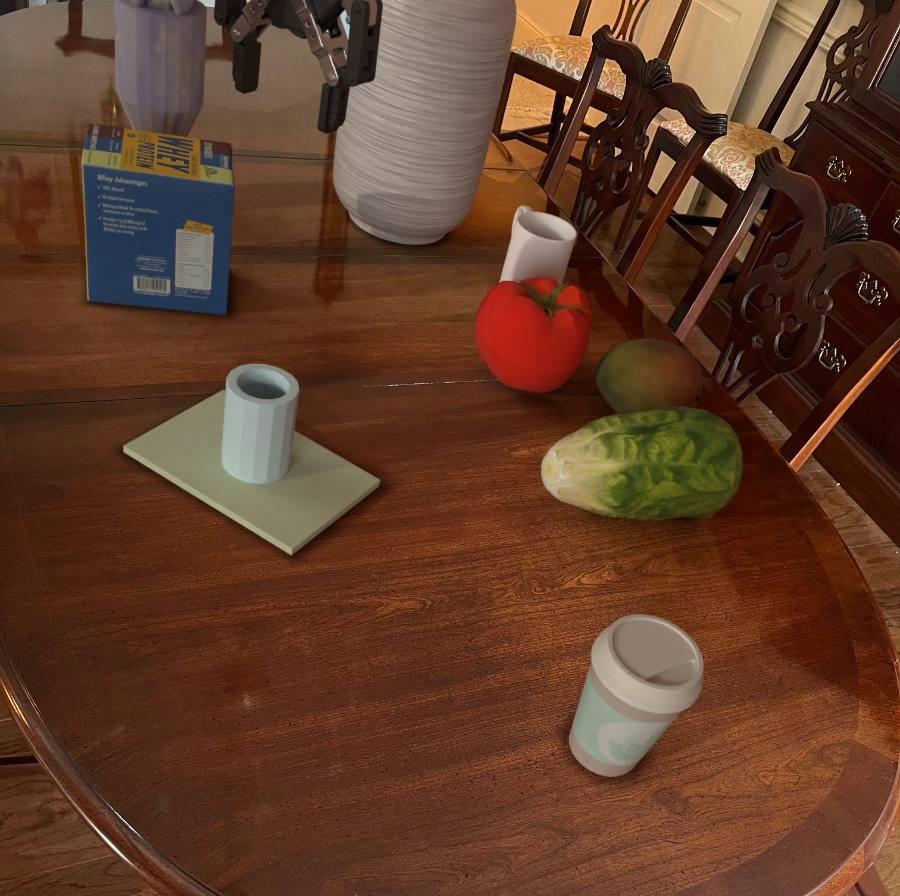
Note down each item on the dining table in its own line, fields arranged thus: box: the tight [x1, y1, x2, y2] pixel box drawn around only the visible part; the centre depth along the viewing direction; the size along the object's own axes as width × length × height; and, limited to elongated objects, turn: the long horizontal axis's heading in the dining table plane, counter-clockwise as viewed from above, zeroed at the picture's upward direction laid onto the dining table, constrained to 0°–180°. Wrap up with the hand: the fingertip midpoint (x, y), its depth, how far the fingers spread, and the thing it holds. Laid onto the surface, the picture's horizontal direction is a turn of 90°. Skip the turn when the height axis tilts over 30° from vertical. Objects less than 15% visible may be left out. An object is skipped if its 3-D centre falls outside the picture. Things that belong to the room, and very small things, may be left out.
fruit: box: [594, 338, 703, 414], centre depth 113 cm, size 12×12×10 cm
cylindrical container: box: [222, 363, 300, 484], centre depth 92 cm, size 6×6×9 cm
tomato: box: [474, 276, 593, 394], centre depth 114 cm, size 13×14×12 cm
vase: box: [332, 0, 518, 246], centre depth 128 cm, size 20×20×34 cm
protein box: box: [80, 122, 236, 316], centre depth 109 cm, size 10×15×16 cm
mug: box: [499, 205, 578, 286], centre depth 129 cm, size 12×8×10 cm, turn 18°
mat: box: [123, 389, 381, 556], centre depth 95 cm, size 20×14×1 cm
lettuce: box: [540, 407, 744, 522], centre depth 100 cm, size 12×21×11 cm, turn 109°
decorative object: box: [113, 0, 208, 137], centre depth 119 cm, size 10×10×30 cm
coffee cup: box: [568, 613, 705, 778], centre depth 76 cm, size 8×8×12 cm
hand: (286, 110), depth 82 cm, fingers open, 8 cm apart
